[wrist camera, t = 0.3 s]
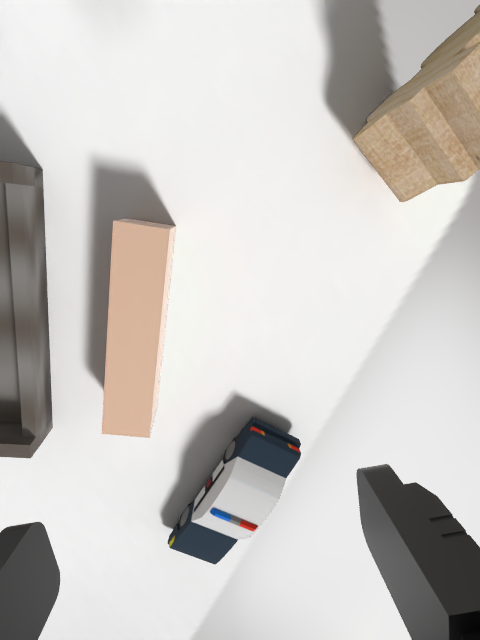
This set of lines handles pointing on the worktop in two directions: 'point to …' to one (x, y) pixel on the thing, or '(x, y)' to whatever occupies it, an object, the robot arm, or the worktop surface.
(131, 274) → the tan rectangular block
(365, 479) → the robot arm
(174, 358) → the worktop surface
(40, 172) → the charcoal tray
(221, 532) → the toy car
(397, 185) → the toy train
